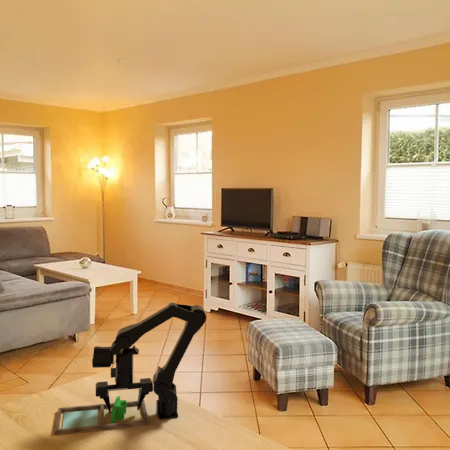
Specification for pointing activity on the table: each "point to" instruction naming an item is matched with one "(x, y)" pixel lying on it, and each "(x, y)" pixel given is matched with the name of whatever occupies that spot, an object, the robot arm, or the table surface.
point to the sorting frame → (92, 418)
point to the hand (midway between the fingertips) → (124, 411)
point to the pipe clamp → (118, 410)
